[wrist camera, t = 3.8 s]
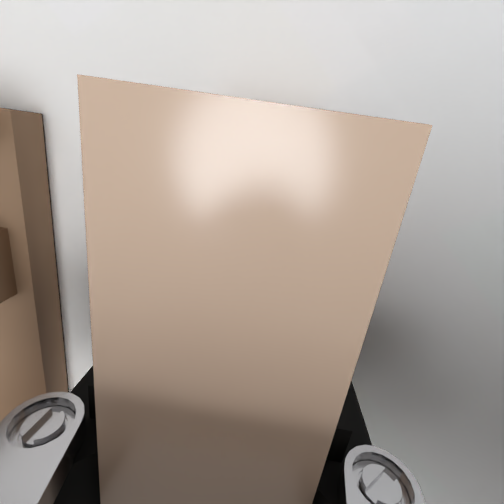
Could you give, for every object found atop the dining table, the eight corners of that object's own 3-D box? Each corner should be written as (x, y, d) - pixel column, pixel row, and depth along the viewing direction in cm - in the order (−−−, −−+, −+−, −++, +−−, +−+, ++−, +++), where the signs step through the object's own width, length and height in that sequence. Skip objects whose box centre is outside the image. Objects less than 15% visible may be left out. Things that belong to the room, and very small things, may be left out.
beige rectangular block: (335, 139, 8) (432, 124, 3) (260, 482, 12) (249, 699, 7) (200, 120, 8) (76, 73, 3) (174, 467, 12) (109, 671, 7)
